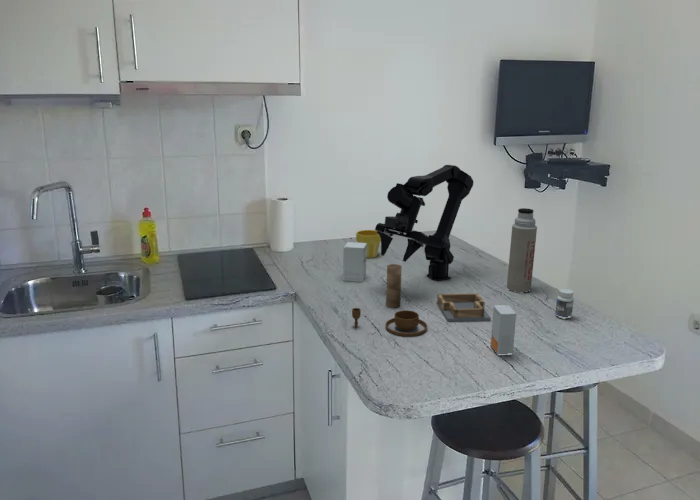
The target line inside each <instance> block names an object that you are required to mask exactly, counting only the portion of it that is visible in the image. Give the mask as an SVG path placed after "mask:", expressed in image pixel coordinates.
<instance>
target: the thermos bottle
mask: <svg viewBox="0 0 700 500" xmlns="http://www.w3.org/2000/svg"><path fill="white" fill-rule="evenodd" d="M517 212H518V213H517V217H515V218H514V221H513V222H514V223H513V224H512V225H511V233H510V234H511V237H510V247H509V259H508V270H507V278H506V279H507V281H506V289H507V288H508V289H509V290H508V289H507V290H508V291H510V290H511V291H510V292H512V291H516V292H515V293H517V292H526V291H529V290H532V282H533V281H532V280H533V271H534V262H535V253H536V241H537V233H538V232H537V230H538V226H536V219H535V218H534V209H531V208H523V207H522V208H518V210H517Z"/></svg>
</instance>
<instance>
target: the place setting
mask: <svg viewBox="0 0 700 500" xmlns="http://www.w3.org/2000/svg"><path fill="white" fill-rule="evenodd" d="M361 311H362V310H361V308H359V307H353V308H352V309H351V315H352V316H351V317H352V318H353V319H354V322H353V323H354V328H358V327H359V322H358V321H359V320H360V318H361V313H362V312H361ZM391 324H394V325H395V326H396V327H397V328H398V329H399V330H400V331H396V330H393V329H391V328H390V327H389V326H390V325H391ZM418 325H420V326H422V327H423V330H420V331H416V332H410V331H413V330H414V329H415V328H417V327H418ZM385 329H386V330H387V331H388V332H389V333H390V334H393V335H395V336H399V337H405V338H406V337H407V338H408V337H409V338H410V337H417V336H420V335H424V333H425V332H427V329H428V324H427V323H426V322H425V321H424V320H422V319H420V314H419V313H418V312H416V311H412V310H398V311H397V312H395V313H394V317H393V318H391V319H388V320H387V321H386V322H385ZM401 331H403V332H401ZM375 334H376V332H374V333H372V335H375Z"/></svg>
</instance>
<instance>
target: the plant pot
mask: <svg viewBox="0 0 700 500" xmlns="http://www.w3.org/2000/svg"><path fill="white" fill-rule="evenodd" d="M355 239H356V240H355V241H356V243H367V259H374V258H376V257H377V256H378V252H379V248H380V245H381V238H380V235H379V234H378V233H377V231H376V230H375V229H362V230H358V231H356V232H355Z"/></svg>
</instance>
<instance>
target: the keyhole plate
mask: <svg viewBox="0 0 700 500" xmlns="http://www.w3.org/2000/svg"><path fill="white" fill-rule="evenodd" d="M485 304H486V302H485V300H484V299H483V298H482V297H481V296H480V294H479V293H478V292H477V293H476V292H475V293H440V294H437V301H436V306H437V307H438V308H439V311H441V313H442V315H443V317H444V319H445V320H446V322H448V323H453V322H454V323H455V322H456V323H458V322H459V323H462V322H464V321H465V322H491V321H492V318H491V316H490V315H489V313H487V311H486V310H485V307H486V306H485ZM490 320H491V321H490Z"/></svg>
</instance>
